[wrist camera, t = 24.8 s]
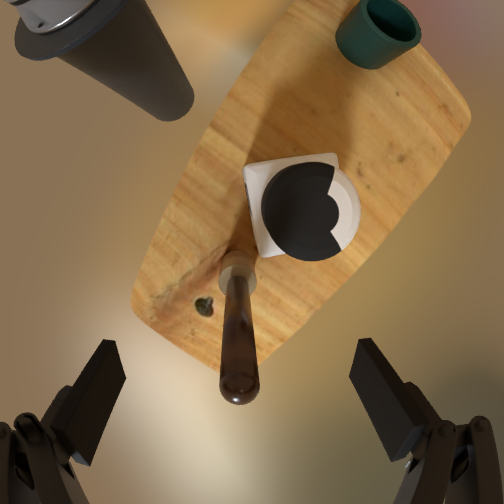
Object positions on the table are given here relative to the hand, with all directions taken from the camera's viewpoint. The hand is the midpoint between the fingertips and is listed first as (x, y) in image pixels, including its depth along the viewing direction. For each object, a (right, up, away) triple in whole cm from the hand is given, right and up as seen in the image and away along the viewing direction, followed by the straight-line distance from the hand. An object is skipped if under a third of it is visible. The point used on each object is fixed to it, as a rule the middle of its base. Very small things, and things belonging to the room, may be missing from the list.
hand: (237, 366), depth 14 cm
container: (+4, +12, +16) cm, 20 cm away
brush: (-1, +4, +17) cm, 18 cm away
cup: (+14, +31, +11) cm, 36 cm away
